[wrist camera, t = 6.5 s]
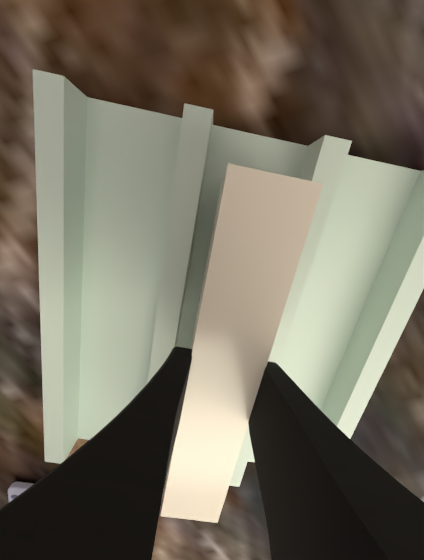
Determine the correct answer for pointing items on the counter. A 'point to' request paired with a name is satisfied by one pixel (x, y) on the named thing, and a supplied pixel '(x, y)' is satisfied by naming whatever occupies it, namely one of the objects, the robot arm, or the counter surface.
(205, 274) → the clay strip
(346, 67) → the counter surface
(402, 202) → the ridged mint rail
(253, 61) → the counter surface
